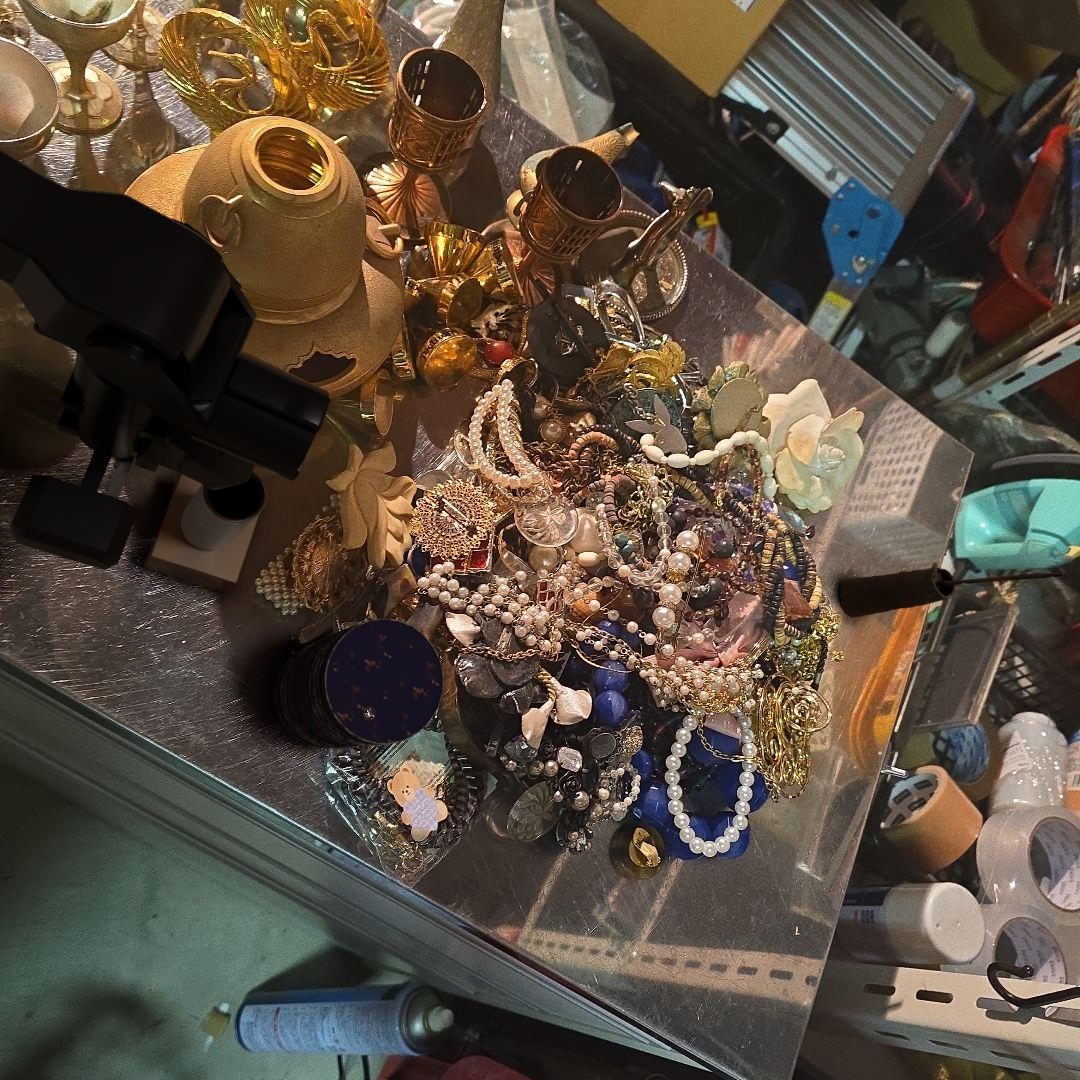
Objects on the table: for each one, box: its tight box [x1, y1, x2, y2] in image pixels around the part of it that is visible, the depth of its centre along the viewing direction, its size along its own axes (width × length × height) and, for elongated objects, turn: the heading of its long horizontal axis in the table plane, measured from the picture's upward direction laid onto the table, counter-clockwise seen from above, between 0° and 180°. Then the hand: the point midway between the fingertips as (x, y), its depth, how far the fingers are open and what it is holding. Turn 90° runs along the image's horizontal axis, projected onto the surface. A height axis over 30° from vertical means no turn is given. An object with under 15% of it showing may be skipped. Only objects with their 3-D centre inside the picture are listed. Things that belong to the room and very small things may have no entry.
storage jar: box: [275, 618, 445, 750], centre depth 75 cm, size 10×10×15 cm
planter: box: [181, 471, 267, 551], centre depth 70 cm, size 4×4×10 cm
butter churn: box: [839, 562, 1065, 618], centre depth 107 cm, size 9×10×28 cm
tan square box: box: [143, 473, 261, 594], centre depth 77 cm, size 7×8×5 cm
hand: (106, 457), depth 64 cm, fingers open, 9 cm apart
